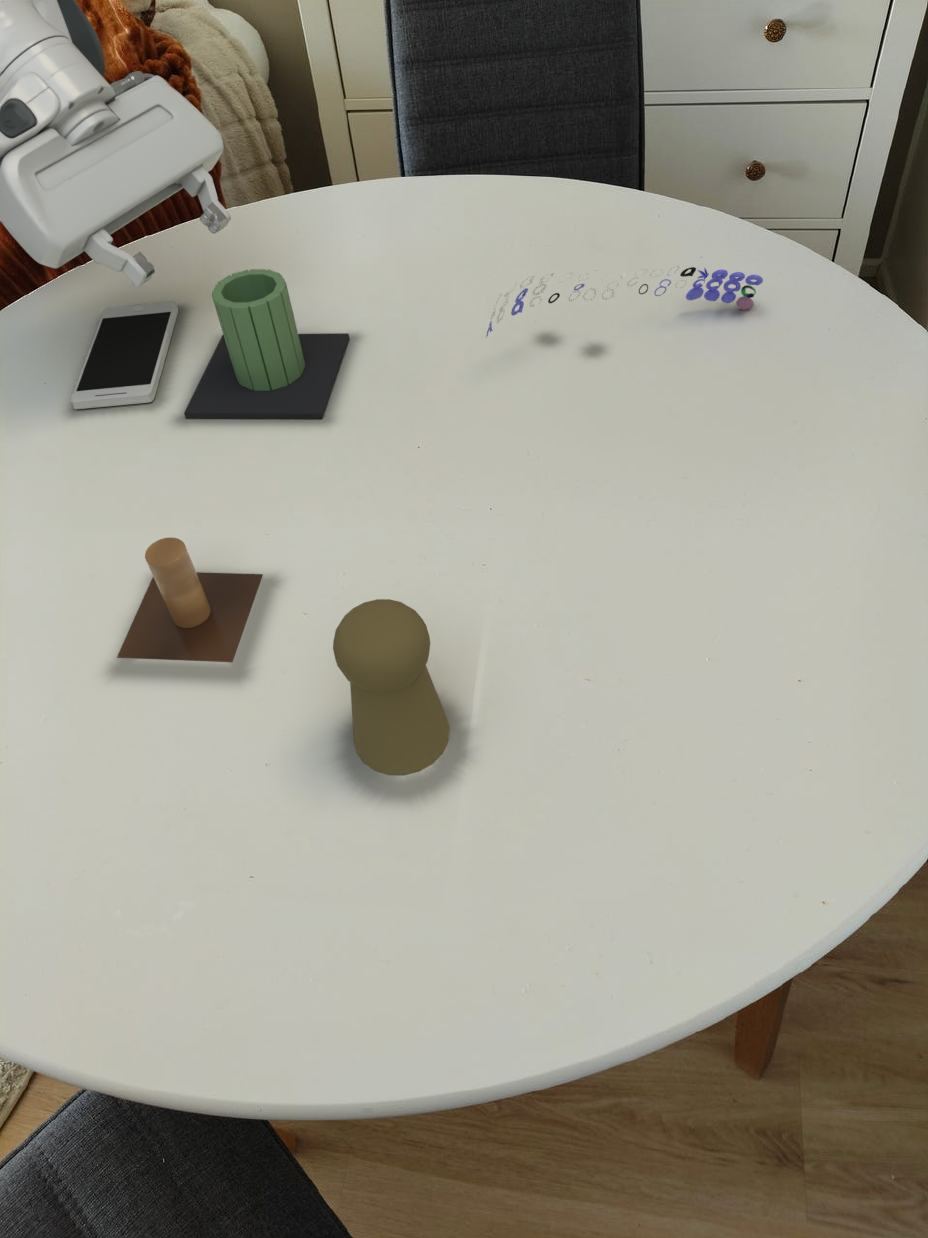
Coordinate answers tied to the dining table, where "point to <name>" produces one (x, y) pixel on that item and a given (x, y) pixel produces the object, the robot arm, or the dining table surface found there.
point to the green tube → (259, 329)
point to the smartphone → (126, 356)
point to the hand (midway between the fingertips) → (186, 252)
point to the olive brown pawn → (391, 687)
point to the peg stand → (189, 609)
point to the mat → (294, 401)
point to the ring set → (693, 294)
